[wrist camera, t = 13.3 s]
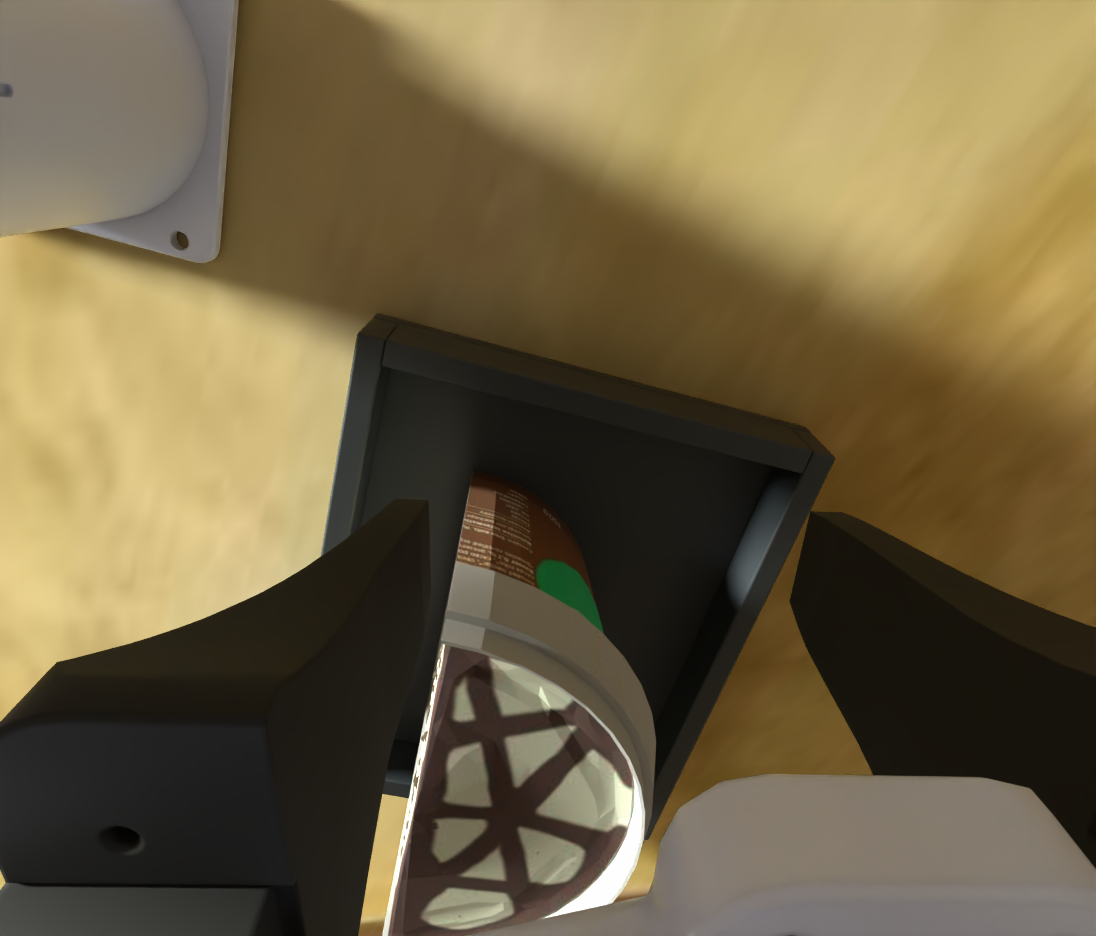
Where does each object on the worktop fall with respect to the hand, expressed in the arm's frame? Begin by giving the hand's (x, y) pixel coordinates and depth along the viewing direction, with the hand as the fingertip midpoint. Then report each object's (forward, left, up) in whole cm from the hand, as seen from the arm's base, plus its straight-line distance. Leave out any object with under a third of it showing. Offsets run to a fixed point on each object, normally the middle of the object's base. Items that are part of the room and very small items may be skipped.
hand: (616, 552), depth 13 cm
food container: (+1, -8, -10) cm, 13 cm away
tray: (+1, -8, -10) cm, 13 cm away
